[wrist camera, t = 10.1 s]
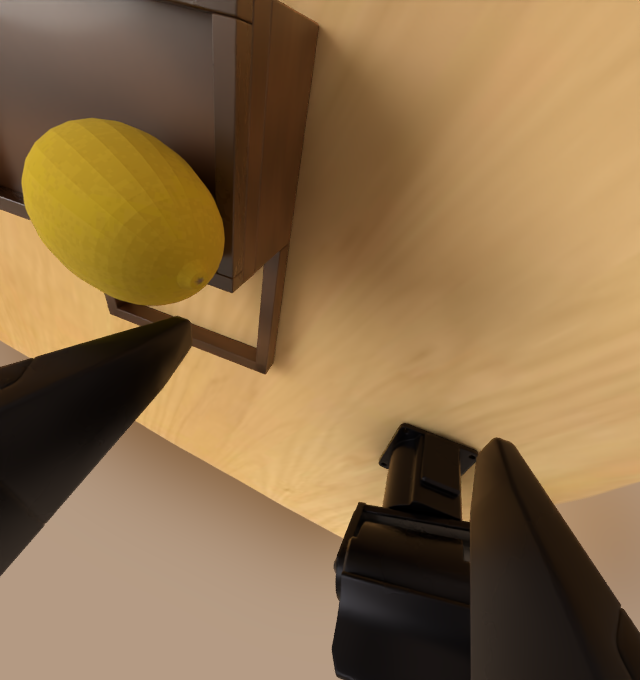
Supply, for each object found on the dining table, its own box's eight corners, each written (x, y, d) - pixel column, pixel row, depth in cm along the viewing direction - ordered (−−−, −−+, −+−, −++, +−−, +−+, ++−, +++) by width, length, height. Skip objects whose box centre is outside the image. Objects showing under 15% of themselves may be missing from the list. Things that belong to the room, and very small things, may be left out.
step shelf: (273, 363, 27) (230, 427, 22) (123, 305, 29) (50, 351, 24) (319, 23, 14) (237, -25, 8) (33, -45, 15) (-184, -120, 10)
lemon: (140, 88, 13) (279, 192, 10) (146, 217, 16) (249, 313, 14) (-59, 61, 9) (95, 215, 7) (8, 237, 12) (121, 371, 10)
